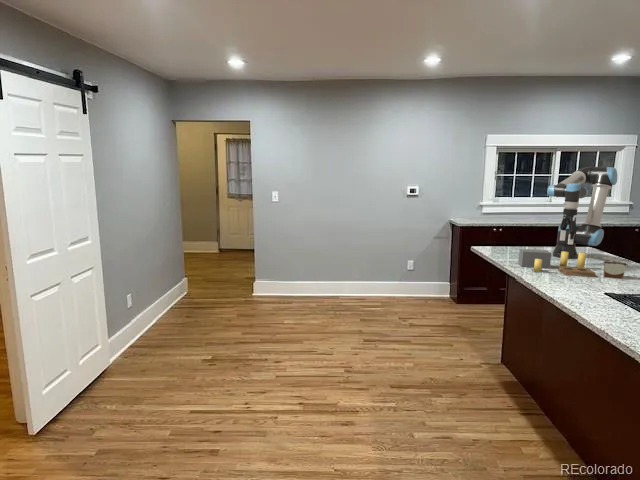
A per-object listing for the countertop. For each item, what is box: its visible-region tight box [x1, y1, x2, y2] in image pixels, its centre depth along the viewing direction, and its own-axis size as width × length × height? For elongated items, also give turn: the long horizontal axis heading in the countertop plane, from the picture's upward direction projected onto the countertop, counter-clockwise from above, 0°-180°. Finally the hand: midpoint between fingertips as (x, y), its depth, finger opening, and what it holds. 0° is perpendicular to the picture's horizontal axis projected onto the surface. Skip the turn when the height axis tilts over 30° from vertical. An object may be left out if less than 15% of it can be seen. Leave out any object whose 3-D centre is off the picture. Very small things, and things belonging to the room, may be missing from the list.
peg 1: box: [559, 251, 569, 267], centre depth 267 cm, size 4×4×10 cm
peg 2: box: [576, 251, 587, 268], centre depth 265 cm, size 4×4×10 cm
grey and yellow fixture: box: [531, 259, 558, 274], centre depth 256 cm, size 5×13×7 cm, turn 79°
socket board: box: [557, 265, 596, 278], centre depth 253 cm, size 12×16×2 cm
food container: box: [602, 258, 629, 280], centre depth 246 cm, size 12×6×10 cm, turn 71°
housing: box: [517, 248, 553, 270], centre depth 269 cm, size 8×16×10 cm, turn 79°
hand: (566, 242), depth 265 cm, fingers open, 13 cm apart
